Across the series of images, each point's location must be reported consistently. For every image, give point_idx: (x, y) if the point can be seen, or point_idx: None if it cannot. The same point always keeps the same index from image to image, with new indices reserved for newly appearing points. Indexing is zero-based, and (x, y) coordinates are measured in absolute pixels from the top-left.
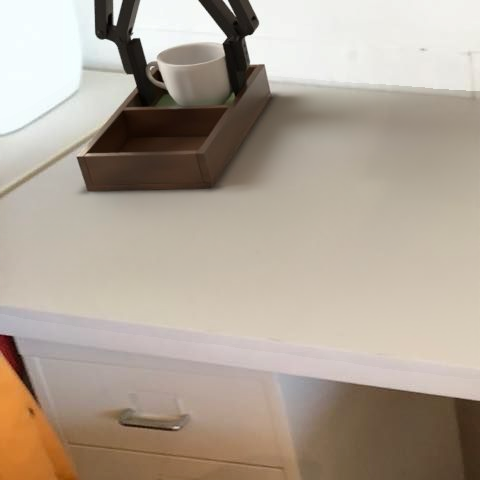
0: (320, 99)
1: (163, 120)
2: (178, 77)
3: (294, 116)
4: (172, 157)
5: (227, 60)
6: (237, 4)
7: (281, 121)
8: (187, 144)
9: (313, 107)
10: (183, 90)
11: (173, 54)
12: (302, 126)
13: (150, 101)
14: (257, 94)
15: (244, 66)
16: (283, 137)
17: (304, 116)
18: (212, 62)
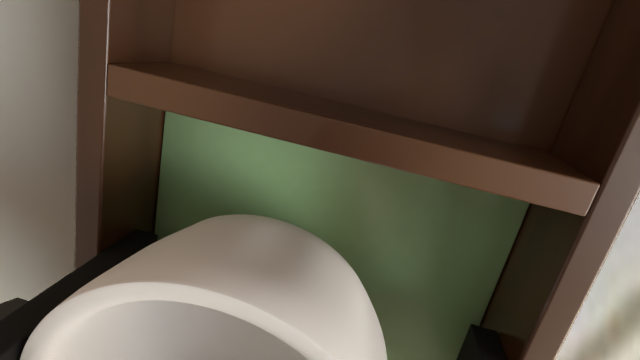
0: (6, 300)
1: (409, 129)
2: (285, 271)
3: (45, 207)
4: None
5: (27, 331)
6: None
7: (73, 182)
8: (330, 14)
9: (10, 253)
10: (295, 245)
11: None
12: (6, 123)
13: (464, 353)
14: None
15: (3, 310)
16: (40, 47)
17: (18, 198)
18: (69, 298)
